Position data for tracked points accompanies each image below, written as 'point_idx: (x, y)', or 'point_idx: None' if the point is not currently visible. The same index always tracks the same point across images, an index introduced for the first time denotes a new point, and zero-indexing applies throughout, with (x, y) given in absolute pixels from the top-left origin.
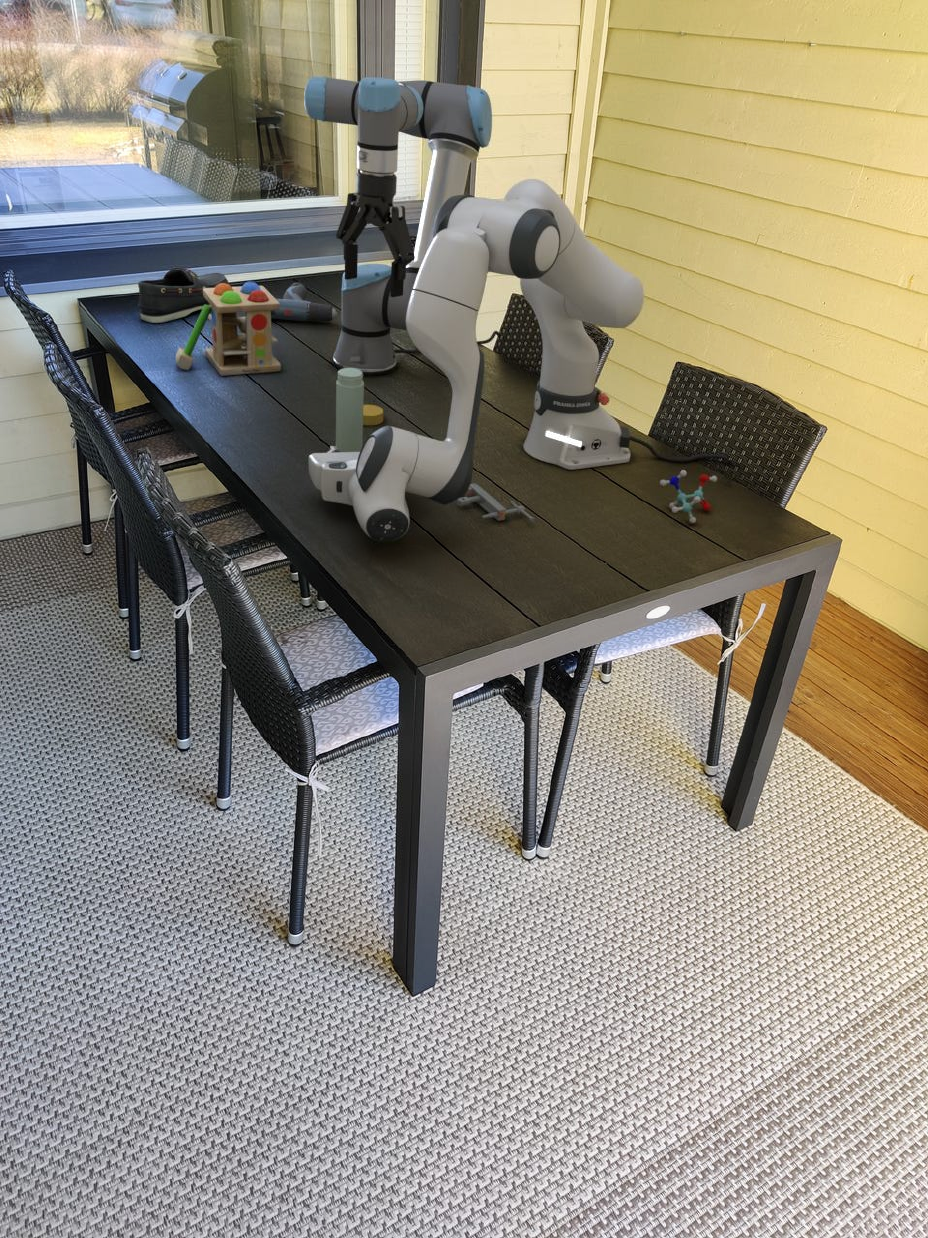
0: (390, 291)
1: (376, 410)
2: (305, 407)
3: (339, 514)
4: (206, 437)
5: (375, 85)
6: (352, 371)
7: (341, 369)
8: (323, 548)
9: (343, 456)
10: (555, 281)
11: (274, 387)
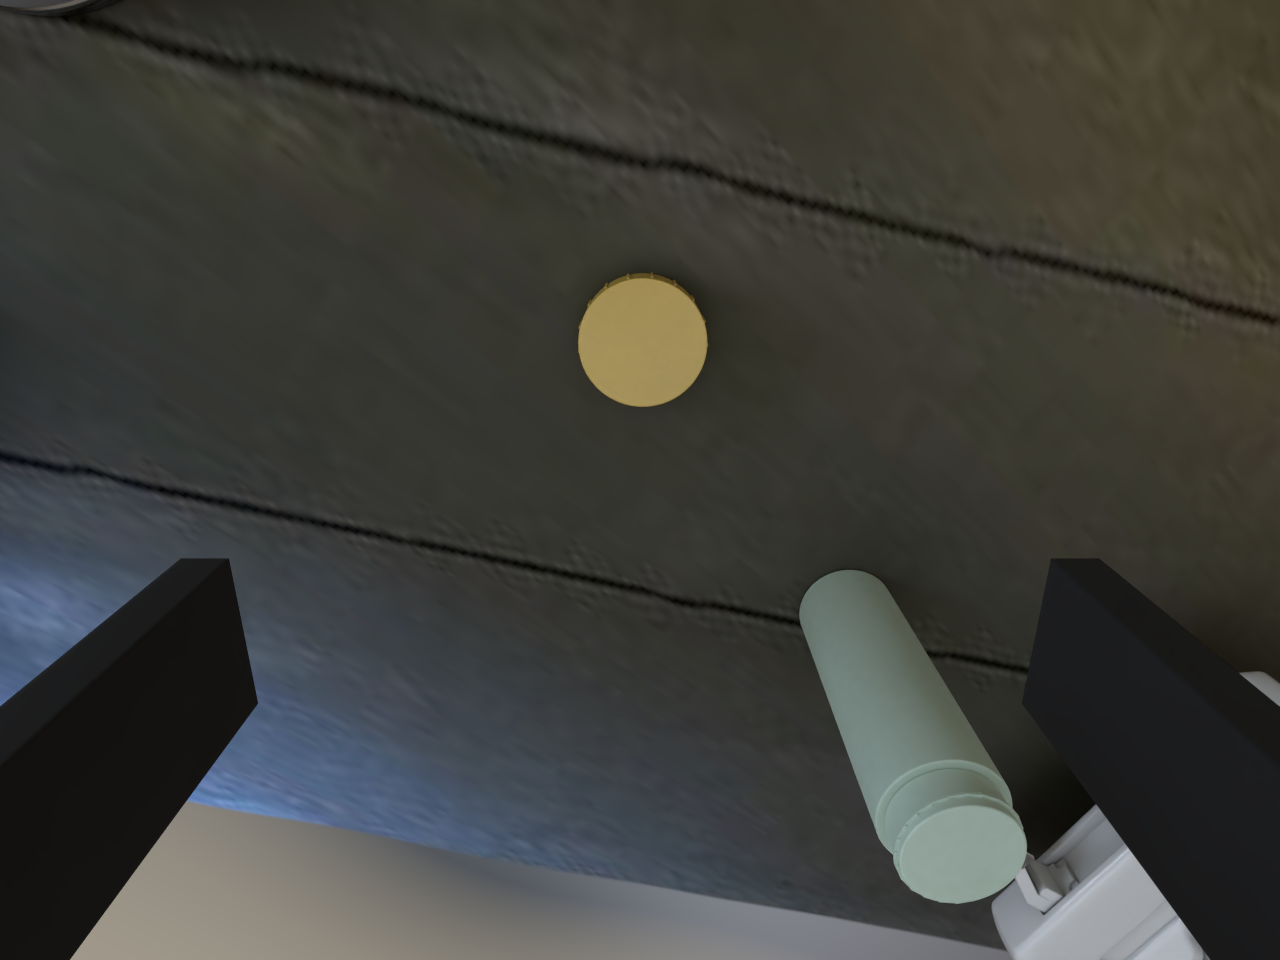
0: (1051, 741)
1: (665, 318)
2: (395, 465)
3: None
4: (451, 845)
5: None
6: (964, 844)
7: (905, 866)
8: None
9: (1115, 909)
10: None
11: (143, 438)
